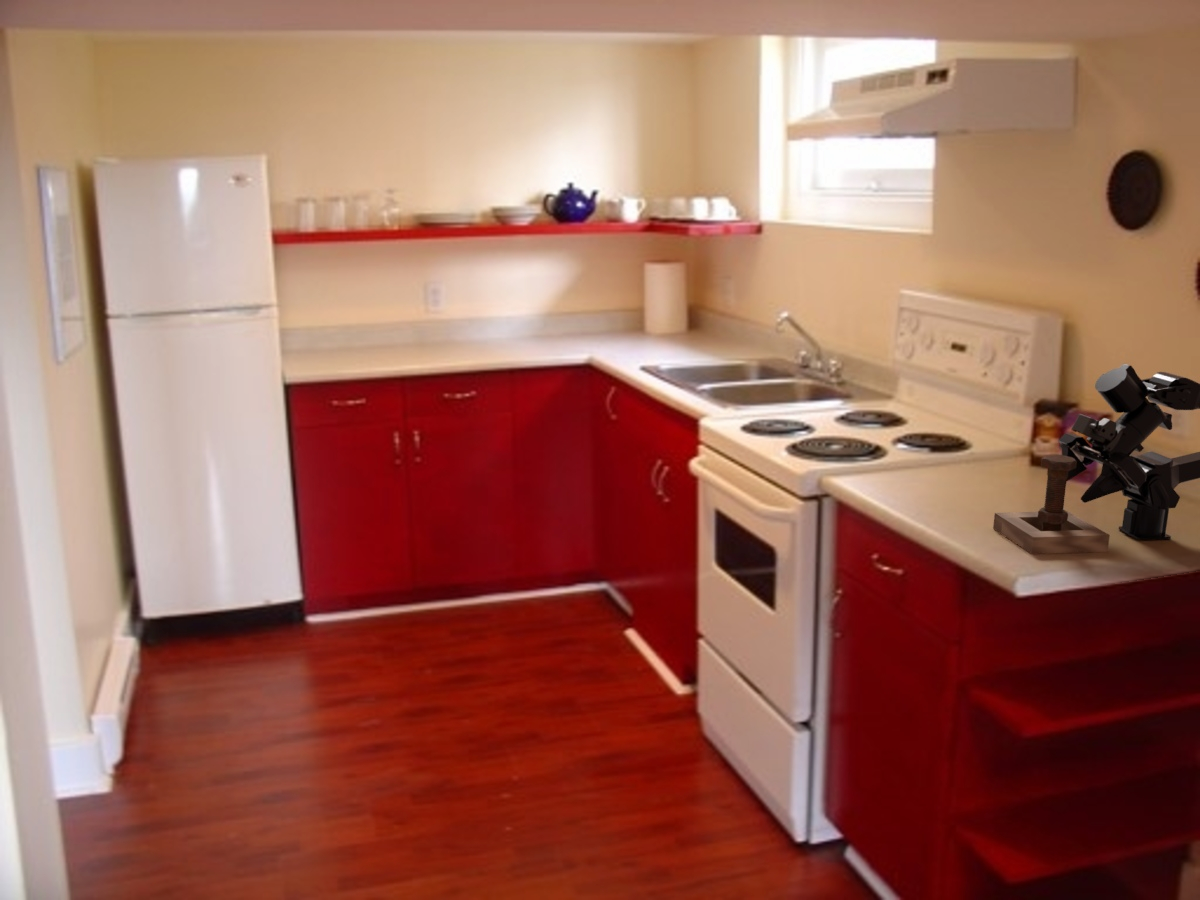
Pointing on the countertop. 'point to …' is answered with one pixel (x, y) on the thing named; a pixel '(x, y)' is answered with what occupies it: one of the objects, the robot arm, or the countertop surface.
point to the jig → (1050, 534)
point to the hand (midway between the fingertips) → (1066, 493)
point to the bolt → (1055, 491)
